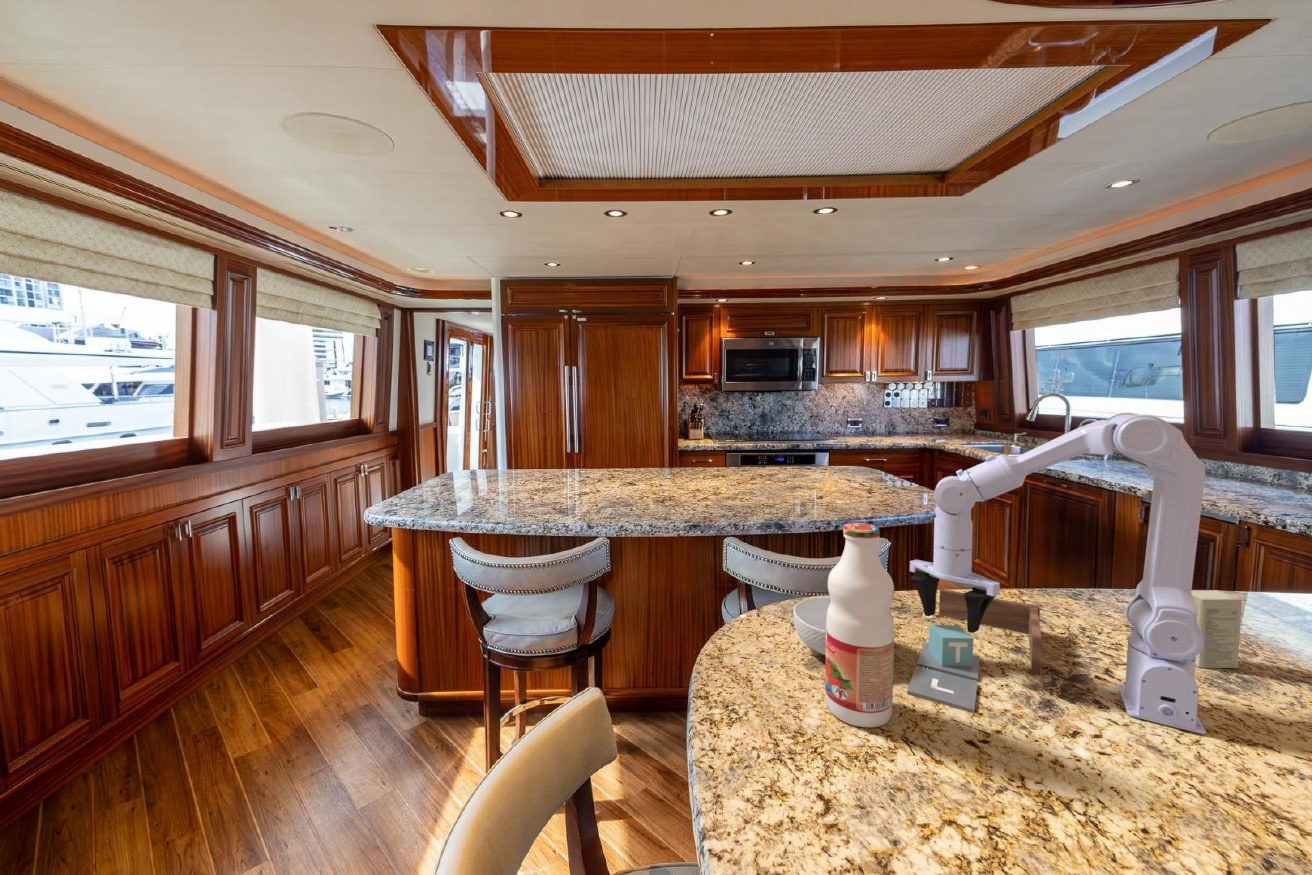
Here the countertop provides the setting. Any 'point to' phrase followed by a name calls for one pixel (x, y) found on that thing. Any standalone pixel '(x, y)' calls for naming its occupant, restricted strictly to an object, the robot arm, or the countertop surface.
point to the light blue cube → (950, 645)
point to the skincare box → (1218, 628)
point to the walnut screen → (1001, 619)
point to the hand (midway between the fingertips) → (950, 622)
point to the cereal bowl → (812, 622)
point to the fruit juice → (860, 632)
